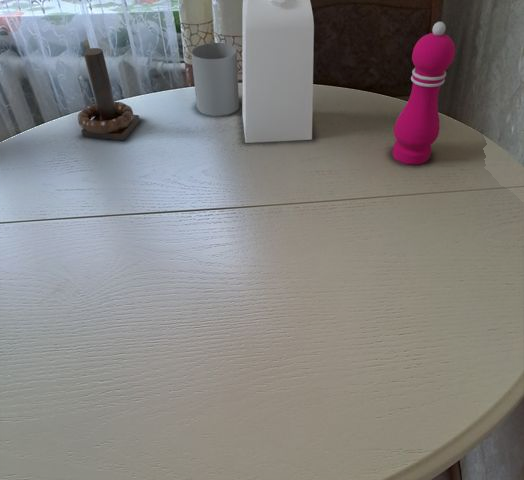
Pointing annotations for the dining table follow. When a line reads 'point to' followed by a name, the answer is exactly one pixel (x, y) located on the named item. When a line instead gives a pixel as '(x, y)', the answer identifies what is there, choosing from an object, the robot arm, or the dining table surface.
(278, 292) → the dining table surface
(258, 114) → the milk
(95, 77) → the brown post
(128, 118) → the ring
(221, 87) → the cup
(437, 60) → the pepper mill
